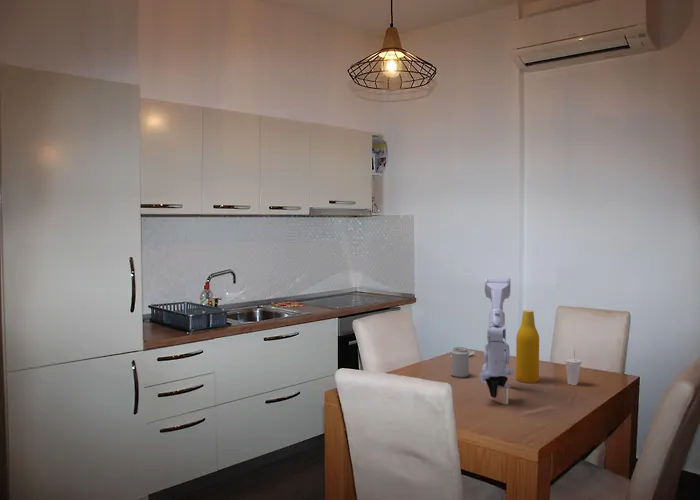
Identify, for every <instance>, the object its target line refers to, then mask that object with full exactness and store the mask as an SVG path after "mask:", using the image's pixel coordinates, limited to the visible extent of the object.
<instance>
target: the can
mask: <svg viewBox="0 0 700 500" xmlns="http://www.w3.org/2000/svg"><path fill="white" fill-rule="evenodd" d="M450 357H451V358H450V360H451V361H450V365H451V366H450V367H451V368H450V371H451V372H450V374H451V375H452V377H455V378H459V379H463V378H467V377H468V376H469V374H470V352H469V351H468V348H466V347H462V346H457V347H453V348H452V350H451V352H450Z"/></svg>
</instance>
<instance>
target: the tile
mask: <svg viewBox="0 0 700 500" xmlns="http://www.w3.org/2000/svg"><path fill="white" fill-rule="evenodd" d="M486 398H487V399H489V400H491V401H494V402H497V403H499V404H502V405H508V404H509V387H506V386H504V387H502V386H500V385H498V386H497V395H496V398H494V397H491V395H490V391H489V387H488V385H487V384H486Z"/></svg>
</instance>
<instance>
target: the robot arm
mask: <svg viewBox="0 0 700 500" xmlns="http://www.w3.org/2000/svg"><path fill="white" fill-rule="evenodd" d="M484 293H485V297H486V298H488V299H490V302H491V310H490V311H489V313H488V328H487V331H486V332H487V333H486V340H487V342H486V343H485V344H484V351H483V361H484V364H483V365H482V368H481V373H479V374H478V379H479V380H480V381H481V383H483V384H486V386H487V385H488V387H489V391H490V395H491V397H494V398H496V395H497V386H498V385H500V386H502V387H505V388H508V389H510V388H511V387H512V386H510V385H507V381H508V380H509V379H508V377H507V376H509V375H510V376H513V371H514V370H513V369H512V368H507V366H508V365H509V364H510V357H511V356H510V345H509V343H507V342H506V340H507V329H506V321H505V320H506V318H505V317H506V313H505V311H504V309H503V308H504V302H505V300H506V299H509V298H510V296H511V278H510V277H488V276H486V277H485V278H484Z"/></svg>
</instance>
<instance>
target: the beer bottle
mask: <svg viewBox="0 0 700 500" xmlns="http://www.w3.org/2000/svg"><path fill="white" fill-rule="evenodd" d="M535 323H536V322H535V313H534V310H523V311H522V316H521V323H520V327H519V329H518V331H517V333H516V339H515V341H516V342H515V348H516V350H515V378H516V380H517V382H520V383H523V384H524V383H526V384H535V383H538V382H539V380H540V336H539V332H538V329H537V327H536V324H535Z"/></svg>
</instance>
